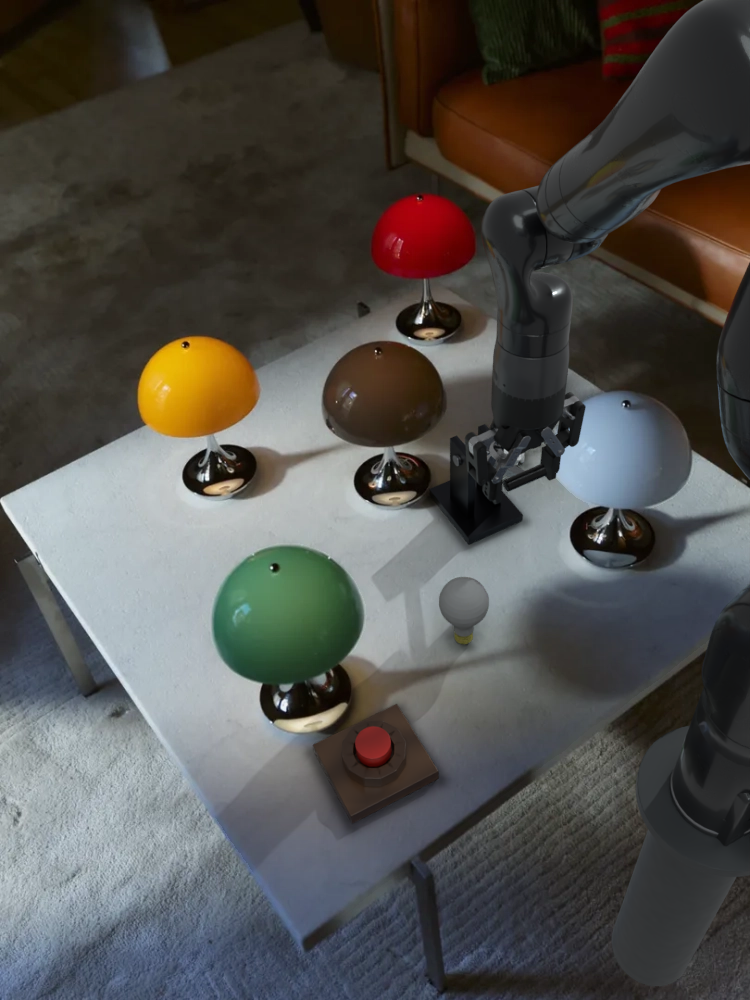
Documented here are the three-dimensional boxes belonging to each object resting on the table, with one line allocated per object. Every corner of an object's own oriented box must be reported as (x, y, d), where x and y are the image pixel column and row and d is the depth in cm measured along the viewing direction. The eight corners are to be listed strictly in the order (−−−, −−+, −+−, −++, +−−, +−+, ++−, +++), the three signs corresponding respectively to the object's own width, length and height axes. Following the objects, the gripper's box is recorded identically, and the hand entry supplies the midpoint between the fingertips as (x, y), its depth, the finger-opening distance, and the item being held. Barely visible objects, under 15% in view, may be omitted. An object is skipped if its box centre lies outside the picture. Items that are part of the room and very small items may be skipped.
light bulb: (430, 632, 109) (429, 579, 102) (471, 613, 111) (472, 559, 104) (454, 667, 106) (455, 614, 99) (496, 647, 108) (499, 593, 100)
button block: (439, 778, 97) (438, 762, 94) (352, 824, 94) (349, 808, 92) (397, 711, 103) (396, 694, 100) (314, 752, 100) (310, 735, 97)
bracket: (522, 520, 121) (528, 454, 112) (468, 544, 118) (470, 478, 110) (481, 473, 127) (483, 406, 118) (429, 495, 125) (427, 428, 116)
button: (397, 757, 96) (397, 748, 94) (366, 773, 95) (365, 764, 93) (381, 729, 98) (380, 720, 97) (350, 744, 97) (349, 736, 96)
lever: (548, 481, 106) (545, 461, 105) (511, 497, 105) (507, 478, 104) (490, 450, 118) (486, 433, 117) (455, 465, 116) (451, 447, 115)
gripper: (488, 418, 91) (484, 532, 103) (610, 369, 95) (592, 484, 107) (449, 376, 96) (449, 489, 108) (566, 330, 100) (554, 445, 112)
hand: (521, 486), depth 108 cm, fingers open, 6 cm apart
